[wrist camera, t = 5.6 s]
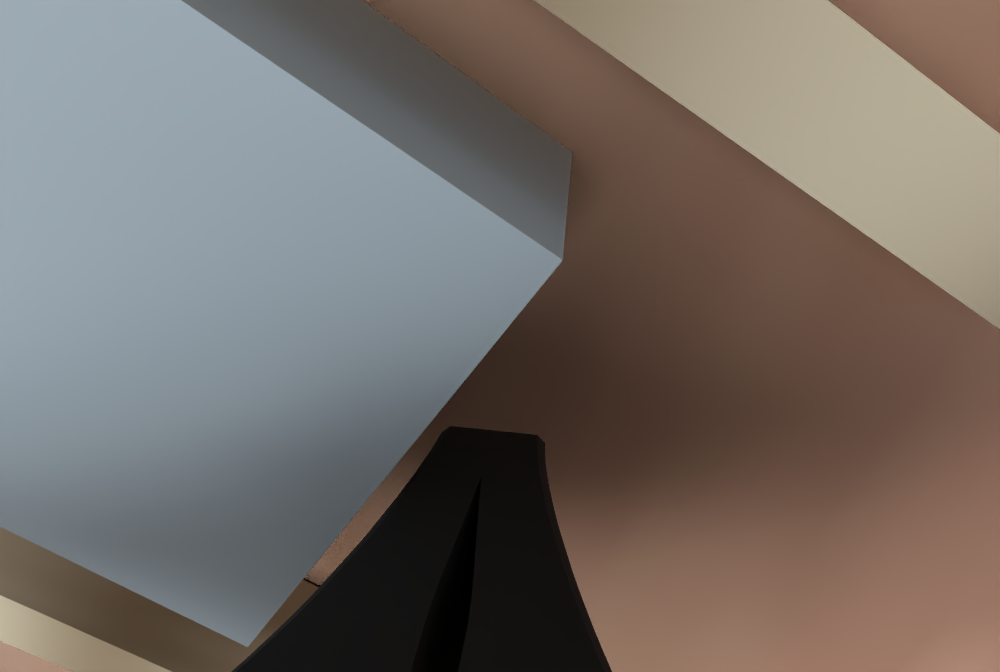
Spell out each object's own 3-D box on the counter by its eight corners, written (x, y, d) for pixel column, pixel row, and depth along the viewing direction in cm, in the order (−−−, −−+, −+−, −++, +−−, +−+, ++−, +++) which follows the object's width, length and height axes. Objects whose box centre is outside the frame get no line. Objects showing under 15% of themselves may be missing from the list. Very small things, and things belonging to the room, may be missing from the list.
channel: (1072, 214, 8) (1477, 469, 5) (489, 712, 15) (453, 989, 11) (4, -607, 6) (-1059, -1544, 2) (-134, 415, 13) (-456, 636, 9)
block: (573, 145, 9) (562, 259, 6) (331, 469, 12) (247, 646, 9) (48, -235, 8) (-305, -332, 5) (-65, 248, 11) (-313, 373, 8)
